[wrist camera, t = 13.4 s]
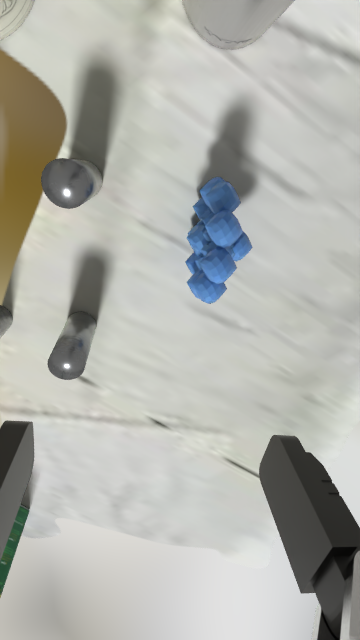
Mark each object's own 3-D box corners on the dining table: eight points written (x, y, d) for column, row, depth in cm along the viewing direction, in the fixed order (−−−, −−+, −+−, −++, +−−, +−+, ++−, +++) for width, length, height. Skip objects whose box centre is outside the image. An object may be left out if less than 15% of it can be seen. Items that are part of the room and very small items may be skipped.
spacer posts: (-44, 138, 30) (-112, 129, 22) (103, 163, 32) (90, 162, 24) (-18, 329, 39) (-60, 372, 31) (95, 338, 41) (84, 380, 33)
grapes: (225, 282, 39) (256, 326, 29) (172, 275, 38) (183, 319, 27) (249, 182, 34) (297, 191, 24) (189, 171, 33) (211, 174, 23)
